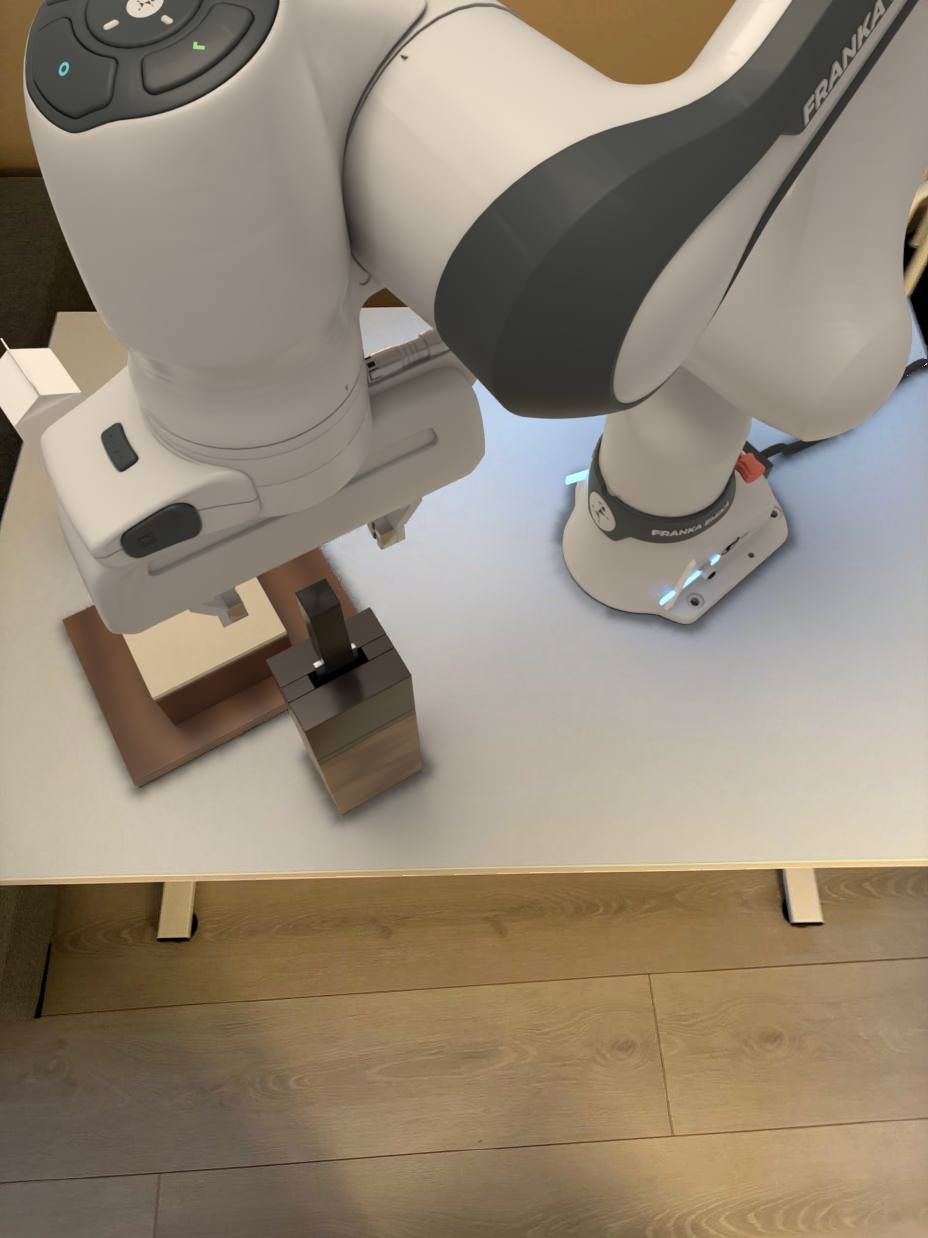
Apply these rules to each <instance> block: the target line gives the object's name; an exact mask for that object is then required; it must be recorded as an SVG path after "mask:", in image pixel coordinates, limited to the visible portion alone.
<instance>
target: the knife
mask: <svg viewBox="0 0 928 1238" xmlns="http://www.w3.org/2000/svg"><path fill="white" fill-rule="evenodd" d="M295 595H296V598H297V601H298V604H299V607H300V610H301V613H302V616H303V619H304V622H305V624H306V627H307V630H308V633H309V636H310V639H311V642H312V645H313V648H314V651H315V653H316V654H317V656H318V658H319V661H317V662H315V663H313V666H314V669H315V671H316V674H317V677H318V680H319V683H320V686H323V685H324V684H326V683H328V682H330V681H332V680H334V679H336V678H338V677H340V676H342V675H344V674H346V673H347V672H349V671H351V670H353V669H355V668H357V667H359V666H361V665H360V661H359V656H358V652H357V648H356V646H355V644H354V643H352V644H351V642H350V638H349V634H348V630H347V626H346V622H345V618H344V614H343V610H342V606H341V603H340V601H339V599H338V598H337V596H336V594H335V592H334V591H333V589H332V587H331V586H330V584H329V582H328V581H327V579H326V578H324V579H322V580H320V581H318V582H316V583H314V584H312V585H310V586H308V587H306V588H304V589H302V590H300V591H297V592H296V593H295Z"/></svg>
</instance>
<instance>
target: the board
mask: <svg viewBox="0 0 928 1238" xmlns="http://www.w3.org/2000/svg"><path fill="white" fill-rule="evenodd" d="M324 578H326V579H327V581H328V582H329V584H330V586H331V587H332V589H333V591H334V592H335V594H336V596H337V598H338V599H339V601H340V603H341V606H342V610H343V614H344V618H345V619H347V618H349V617H351V616H353V615H355V614H357V613H359V612H358V610H357V608H356V607H355V605H354V604H353V601H352V600H351V599H350V597H349V595H348V594H347V592H346V590H345V589H344V587H343V585H342V583H340V580H339V579H338V577H337V575H336V574H335V572H334V570H333V569H332V567H331V566H330V563H329V562H328V561H327V559H326V557H325V556H324V554H323V552H322V551H321V548H320V546H319V547H317V548H315V549H313V550H311V551H309V552H307V553H305V554H303V555H301V556H299V557H296V558H294V559H292V560H290V561H288V562H286V563H284V564H282V565H280V566H278V567H276V568H274V569H271V570H269V571H267V572H265V573H263V574H261V575H259V576H257V579H258V581H259V583H260V585H261V586H262V588H263V590H264V592H265V594H266V595H267V597H268V599H269V601H270V603H271V604H272V606H273V608H274V610H275V612H276V613H277V615H278V617H279V619H280V621H281V622H282V624H283V626H284V628H285V630H286V632H287V634H288V637H289V639H290V642H291V645H292V646H294V645H296V644H298V643H300V642H302V641H304V640H306V639H308V638H310V636H309V633H308V630H307V627H306V624H305V622H304V619H303V616H302V613H301V610H300V607H299V604H298V601H297V598H296V595H295V593H296V592H297V591H300V590H302V589H304V588H306V587H308V586H310V585H312V584H314V583H316V582H318V581H320V580H322V579H324ZM61 621H62V623H63V626H64V627H65V630H66V632H67V634H68V637H69V639H70V641H71V644H72V646H73V648H74V650H75V653H76V655H77V657H78V659H79V662H80V664H81V667H82V668H83V671H84V674H85V676H86V678H87V681H88V682H89V684H90V687H91V689H92V692H93V694H94V696H95V698H96V700H97V703H98V705H99V707H100V710H101V712H102V714H103V717H104V719H105V720H106V723H107V725H108V727H109V730H110V733H111V734H112V738H113V739H114V741H115V744H116V746H117V749H118V750H119V753H120V755H121V757H122V758H121V759H122V760H123V762H124V765H125V767H126V768H127V771H128V774H129V776H130V778H131V780H132V782H133V784H135V785H136V786H137V787H138V788H141V787H142V786H145V785H146V784H149V783H150V782H152V781H154V780H156V779H158V778H160V777H162V776H163V775H166V774H168V773H169V772H172V771H173V770H176V769H177V768H179V767H181V766H183V765H184V764H186V763H189V762H190V761H192V760H194V759H196V758H199V757H200V756H202V755H204V754H206V753H207V752H209V751H211V750H213V749H215V748H217V747H220V746H222V745H224V743H227V742H228V741H230V740H232V739H235V738H236V737H238V736H240V735H242V734H243V733H245V732H248V731H249V730H251V729H253V728H256V727H258V726H259V725H261V724H263V723H266V722H267V721H269V720H271V719H272V718H274V717H276V716H279V715H280V714H282V713H284V712H286V711H287V710H288V708H287V706H286V704H285V702H284V699H283V697H282V695H281V693H280V691H279V689H278V687H277V684H276V682H275V680H274V678H273V676H271V677H269V678H267V679H265V680H263V681H261V682H259V683H257V684H255V685H253V686H251V687H249V688H247V689H245V690H243V691H241V692H239V693H237V694H236V695H234V696H232V697H230V698H228V699H226V700H224V701H222V702H220V703H218V704H216V705H214V706H212V707H210V708H208V709H206V710H204V711H202V712H200V713H198V714H196V715H195V716H193V717H191V718H189V719H187V720H185V721H183V722H181V723H179V724H177V725H174V724H173V723H172V722H171V720H170V719H169V718H168V717H167V716H166V714H165V713H164V712H163V711H162V709H161V708H160V707H159V706H158V704H157V703H156V702H155V701H154V699H153V698H152V696H151V694H150V692H149V690H148V688H147V686H146V684H145V681H144V679H143V677H142V675H141V673H140V671H139V669H138V667H137V664H136V662H135V660H134V658H133V656H132V654H131V652H130V649H129V647H128V645H127V643H126V641H125V639H124V637H123V635H122V634H115V633H112V632H110V631H109V630H108V628H107V627H106V626H105V624H104V622H103V621H102V619H101V617H100V615H99V613H98V611H97V609H96V607H95V605H94V604H93V605H90V606H89V607H86V608H83V609H81V610H80V611H78V612H76V613H74V614H71V615H70V616H69V615H68V616H67V617H65V618H63V619H62V620H61ZM288 711H289V710H288Z"/></svg>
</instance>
